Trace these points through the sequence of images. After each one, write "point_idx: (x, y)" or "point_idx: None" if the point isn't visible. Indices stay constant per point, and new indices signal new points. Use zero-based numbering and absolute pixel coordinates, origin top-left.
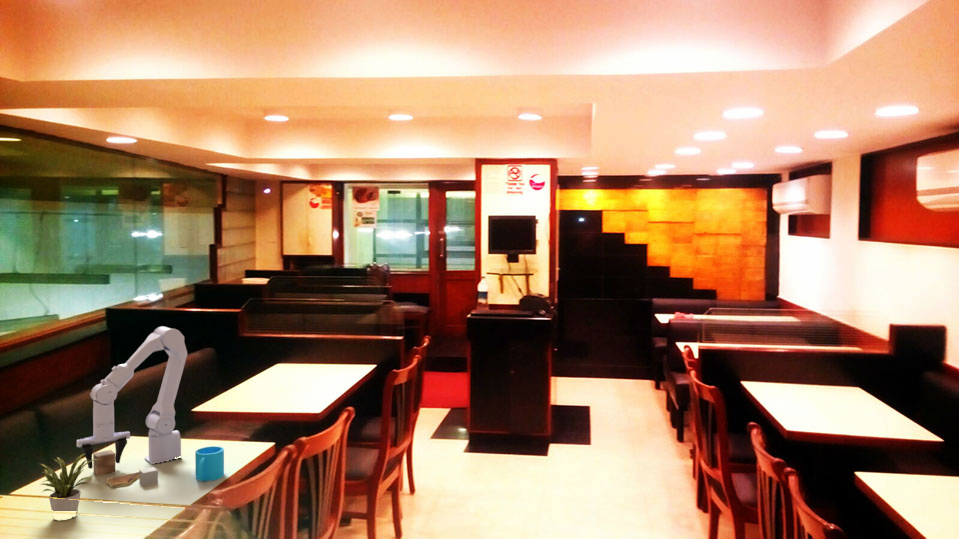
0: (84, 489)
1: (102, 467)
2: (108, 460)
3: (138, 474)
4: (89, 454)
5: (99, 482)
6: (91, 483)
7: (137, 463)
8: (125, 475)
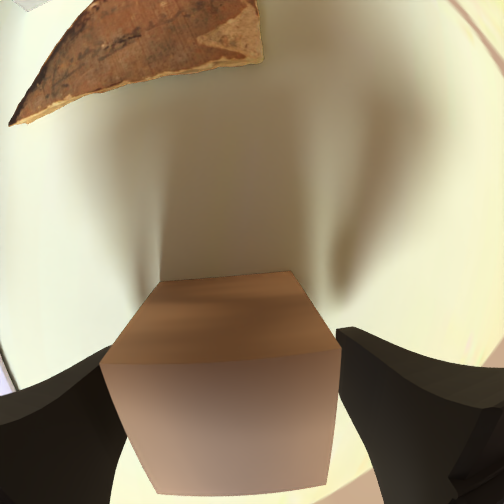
0: (393, 36)
1: (258, 295)
2: (195, 327)
3: (49, 57)
4: (445, 375)
5: (302, 97)
6: (353, 114)
7: (43, 370)
8: (117, 62)
